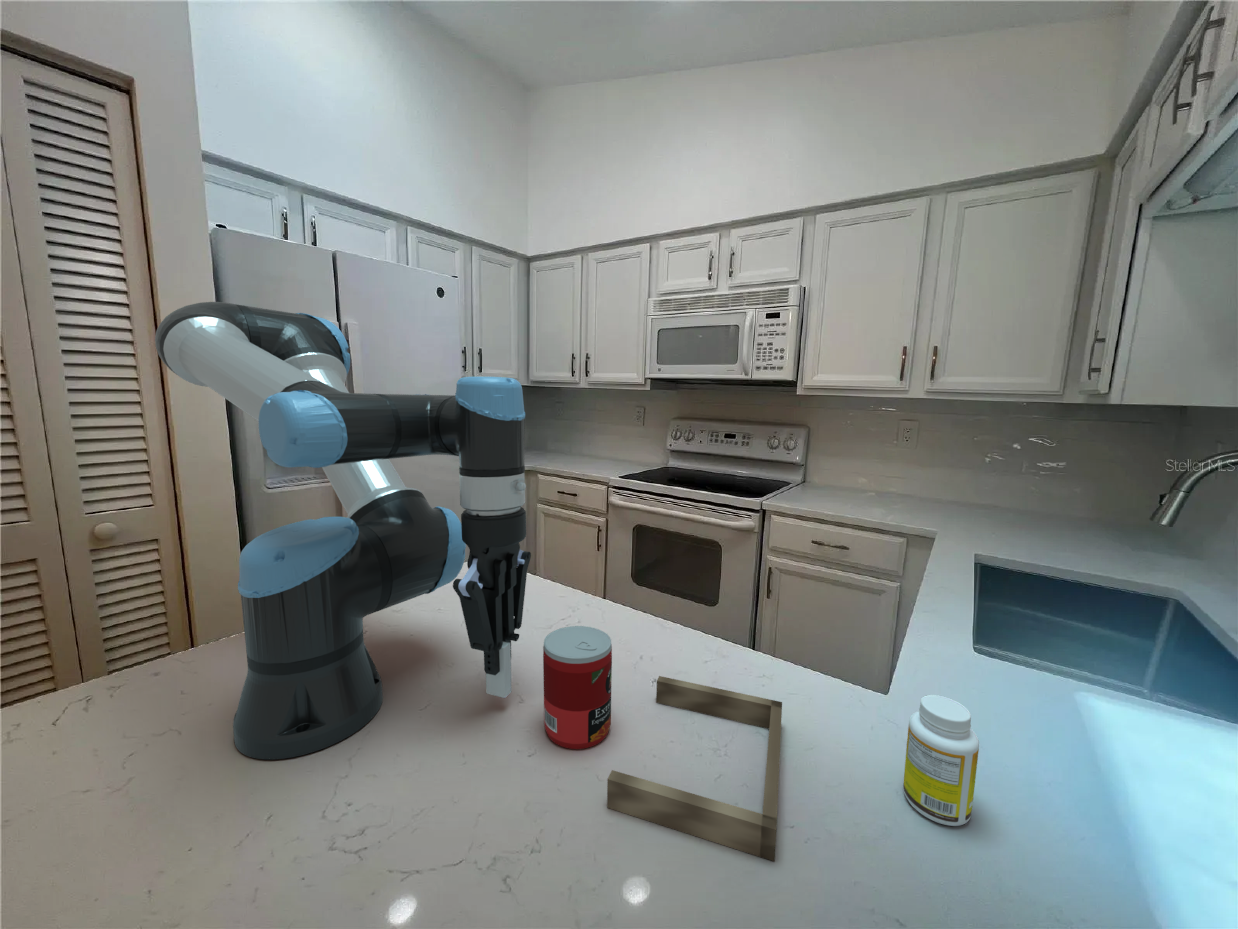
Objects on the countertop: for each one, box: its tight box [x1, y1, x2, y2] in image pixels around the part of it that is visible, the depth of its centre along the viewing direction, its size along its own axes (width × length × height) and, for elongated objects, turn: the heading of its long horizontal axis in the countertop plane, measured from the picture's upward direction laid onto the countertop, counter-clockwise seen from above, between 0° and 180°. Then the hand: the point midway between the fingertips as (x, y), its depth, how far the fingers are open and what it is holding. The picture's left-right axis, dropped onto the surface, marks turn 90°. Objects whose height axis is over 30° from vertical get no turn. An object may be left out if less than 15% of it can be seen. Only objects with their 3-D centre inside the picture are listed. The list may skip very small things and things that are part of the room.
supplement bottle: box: [902, 694, 980, 827], centre depth 46 cm, size 6×6×10 cm
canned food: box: [542, 625, 613, 750], centre depth 56 cm, size 8×8×11 cm
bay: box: [606, 675, 783, 863], centre depth 51 cm, size 15×18×3 cm
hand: (499, 692), depth 60 cm, fingers closed
